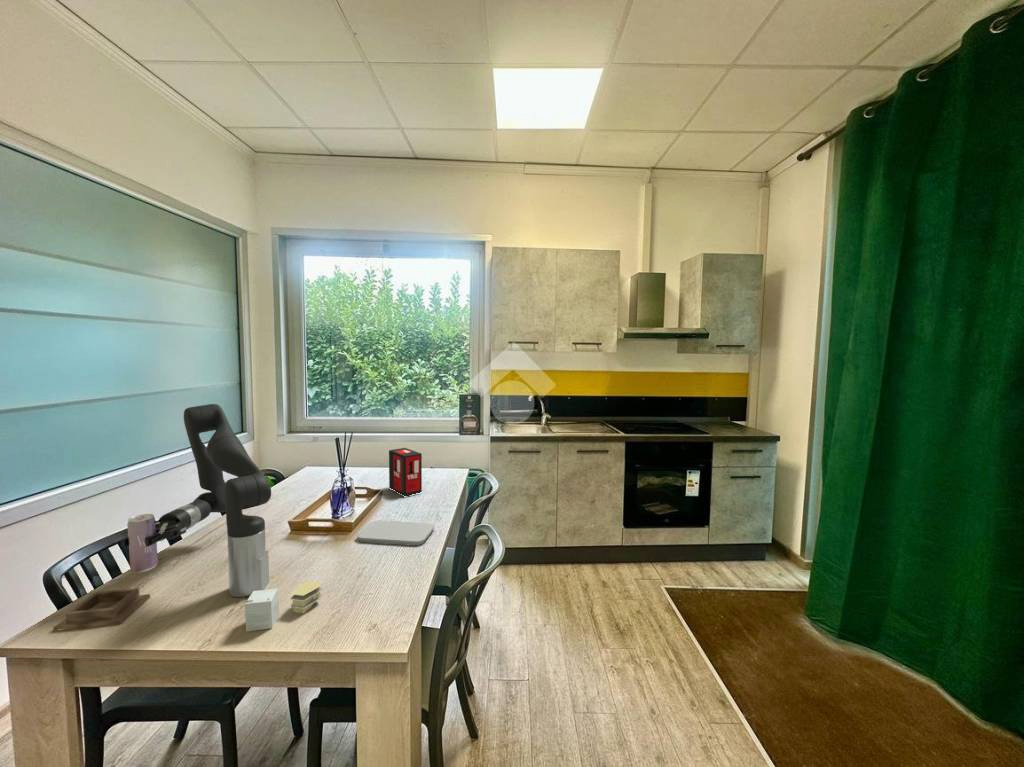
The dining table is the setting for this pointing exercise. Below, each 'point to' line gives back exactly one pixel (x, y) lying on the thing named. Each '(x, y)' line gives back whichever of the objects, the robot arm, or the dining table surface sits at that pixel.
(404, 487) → the cleaning product box
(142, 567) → the beverage can
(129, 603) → the can holder
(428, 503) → the dining table surface
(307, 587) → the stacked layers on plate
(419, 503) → the dining table surface
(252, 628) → the skincare box
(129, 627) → the dining table surface
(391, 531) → the tablet
